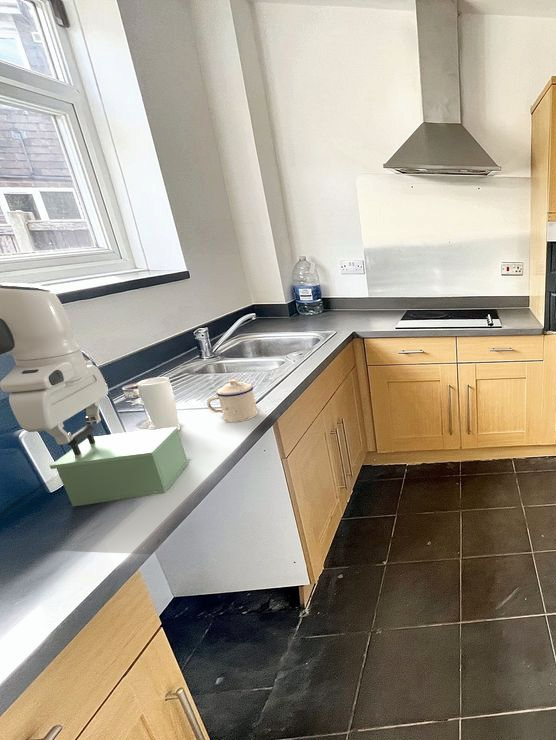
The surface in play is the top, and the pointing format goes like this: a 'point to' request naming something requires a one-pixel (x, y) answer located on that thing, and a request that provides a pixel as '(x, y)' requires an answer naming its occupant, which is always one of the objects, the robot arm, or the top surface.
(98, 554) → the top surface
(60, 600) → the top surface
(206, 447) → the top surface
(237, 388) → the teacup with lid
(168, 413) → the white vase
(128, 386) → the wineglass
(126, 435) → the box lid
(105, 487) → the storage box
